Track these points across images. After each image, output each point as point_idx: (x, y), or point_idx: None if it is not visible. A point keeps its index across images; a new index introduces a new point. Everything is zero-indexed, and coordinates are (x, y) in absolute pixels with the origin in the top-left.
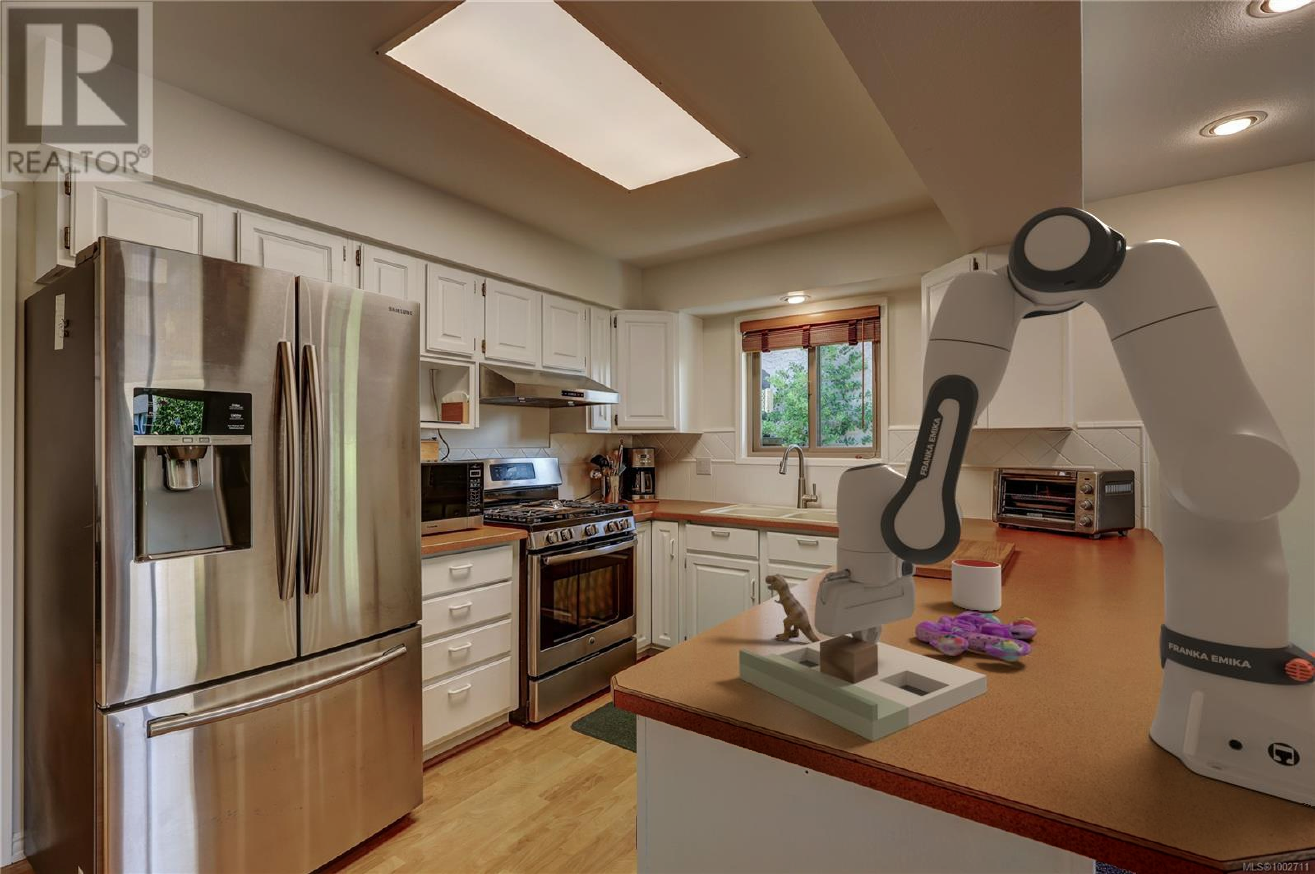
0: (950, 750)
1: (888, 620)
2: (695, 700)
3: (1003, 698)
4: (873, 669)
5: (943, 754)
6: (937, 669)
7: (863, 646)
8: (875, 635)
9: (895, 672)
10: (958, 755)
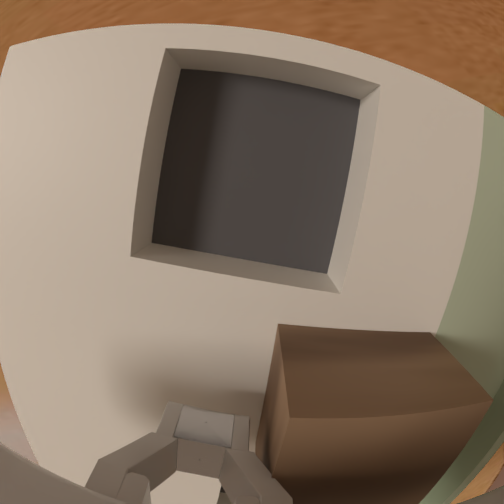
0: (470, 17)
1: (35, 482)
2: (500, 453)
3: (56, 17)
4: (314, 341)
5: (492, 30)
6: (40, 170)
7: (379, 439)
8: (145, 465)
9: (192, 281)
10: (473, 5)
